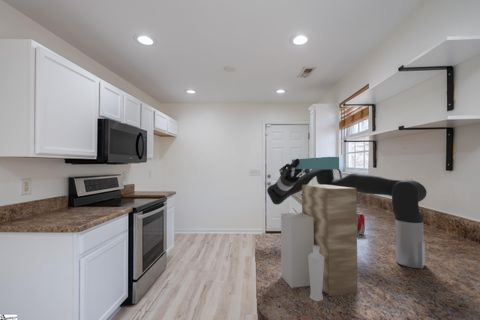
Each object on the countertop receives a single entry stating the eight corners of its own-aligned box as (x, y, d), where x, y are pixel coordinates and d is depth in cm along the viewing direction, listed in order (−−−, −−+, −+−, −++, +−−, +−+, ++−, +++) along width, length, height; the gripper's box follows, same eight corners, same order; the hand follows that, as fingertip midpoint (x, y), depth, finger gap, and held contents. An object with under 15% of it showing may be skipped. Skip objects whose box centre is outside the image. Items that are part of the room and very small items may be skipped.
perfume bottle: (305, 293, 71) (305, 243, 71) (319, 293, 71) (319, 243, 72) (311, 302, 66) (311, 249, 67) (326, 301, 67) (325, 248, 67)
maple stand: (302, 272, 85) (302, 184, 86) (326, 269, 88) (325, 184, 89) (329, 296, 70) (328, 188, 71) (357, 291, 72) (356, 188, 73)
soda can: (366, 235, 132) (366, 214, 132) (353, 234, 133) (352, 213, 133) (362, 232, 139) (362, 212, 139) (349, 231, 140) (349, 211, 140)
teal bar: (291, 168, 100) (291, 159, 100) (300, 168, 101) (300, 159, 101) (328, 169, 75) (328, 156, 75) (339, 169, 76) (339, 156, 76)
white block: (281, 276, 82) (281, 213, 83) (301, 274, 84) (301, 212, 85) (291, 287, 74) (291, 218, 75) (313, 284, 76) (313, 217, 77)
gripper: (303, 186, 108) (321, 168, 94) (274, 187, 105) (289, 168, 91) (299, 172, 112) (316, 152, 98) (271, 172, 109) (285, 152, 95)
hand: (303, 160), depth 94 cm, fingers closed on teal bar, 4 cm apart
